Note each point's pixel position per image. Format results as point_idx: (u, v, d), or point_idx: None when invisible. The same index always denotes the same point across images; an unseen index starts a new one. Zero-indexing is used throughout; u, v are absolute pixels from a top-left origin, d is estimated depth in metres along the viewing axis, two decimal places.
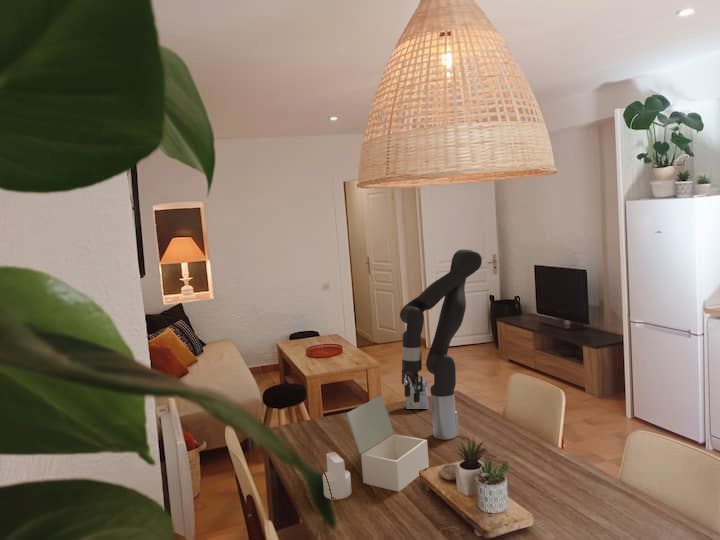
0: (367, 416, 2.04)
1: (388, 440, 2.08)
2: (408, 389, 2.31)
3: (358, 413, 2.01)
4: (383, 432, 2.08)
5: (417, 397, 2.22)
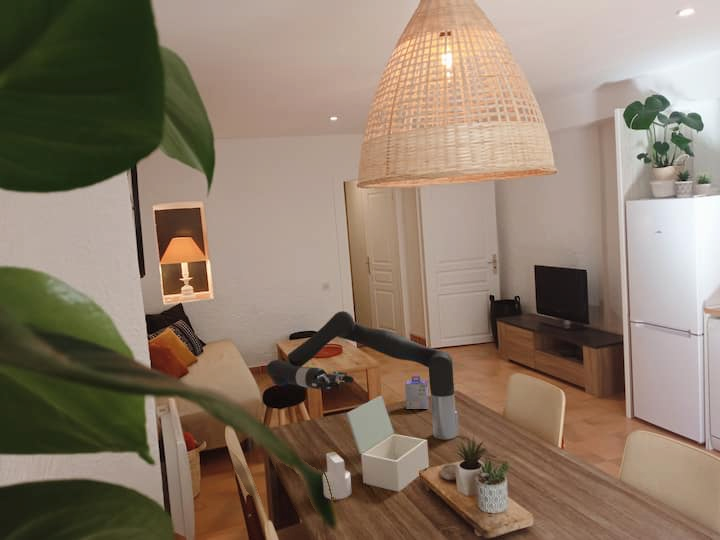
0: (367, 416, 2.04)
1: (388, 440, 2.08)
2: (346, 378, 2.14)
3: (358, 413, 2.01)
4: (383, 432, 2.08)
5: (332, 386, 2.06)
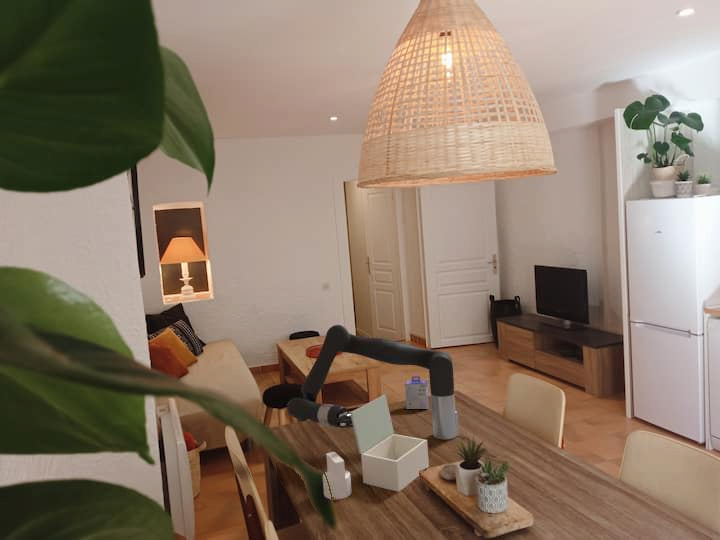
0: (370, 416, 2.03)
1: (388, 440, 2.08)
2: None
3: (362, 413, 2.00)
4: (384, 432, 2.08)
5: None
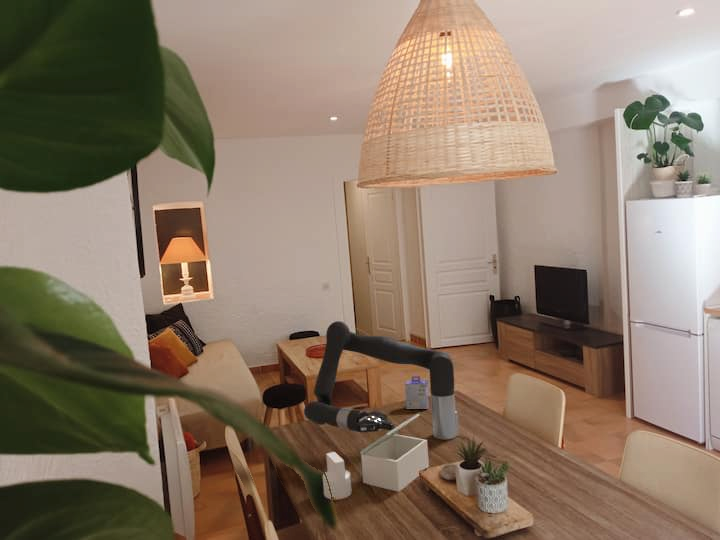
0: None
1: (388, 440, 2.08)
2: None
3: None
4: None
5: (385, 427, 2.00)
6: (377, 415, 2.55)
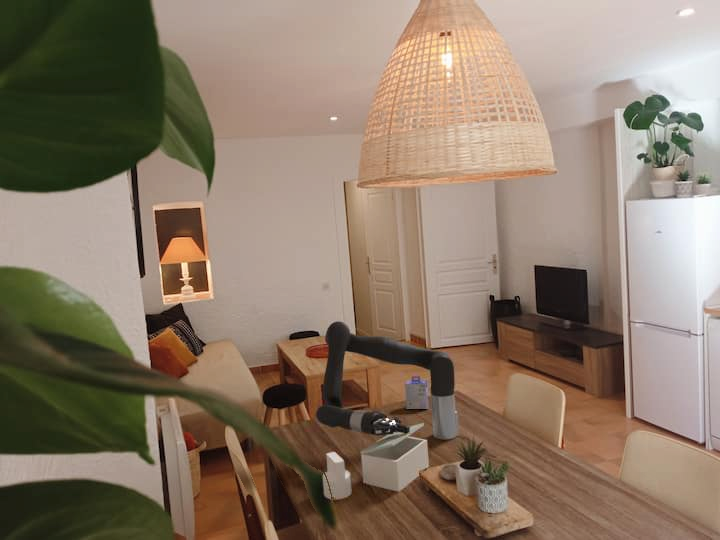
0: None
1: None
2: None
3: None
4: None
5: (400, 430, 1.96)
6: None
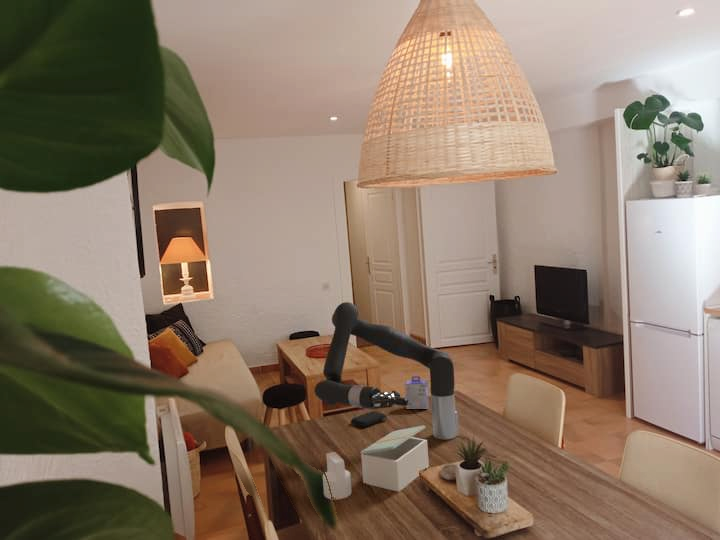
0: None
1: None
2: None
3: None
4: None
5: (399, 403, 1.95)
6: (376, 415, 2.55)
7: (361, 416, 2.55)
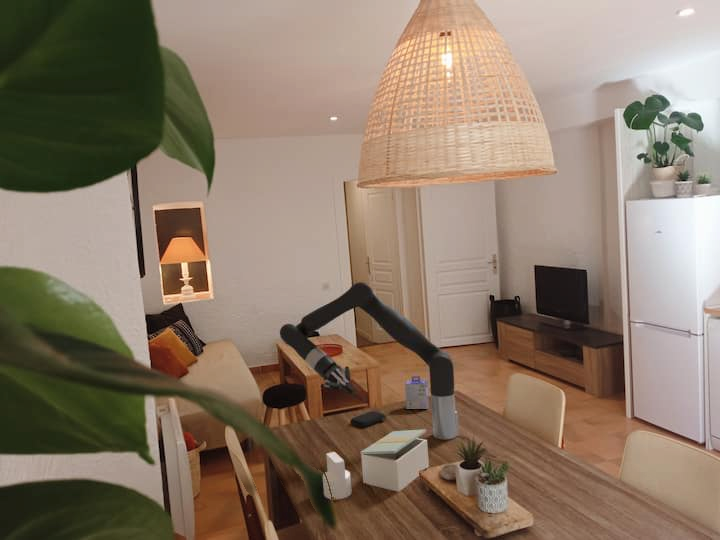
0: None
1: None
2: None
3: None
4: None
5: (346, 390, 2.15)
6: (376, 415, 2.55)
7: (360, 416, 2.55)
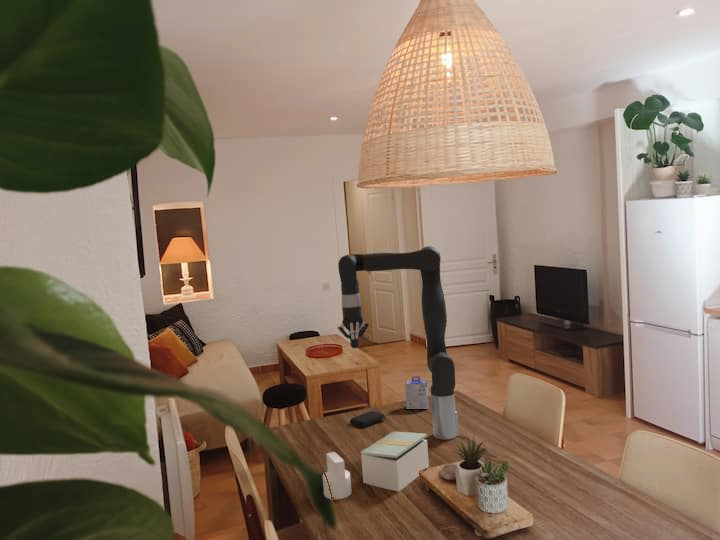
0: None
1: None
2: None
3: None
4: None
5: (350, 343, 2.34)
6: (375, 415, 2.55)
7: (360, 416, 2.55)
